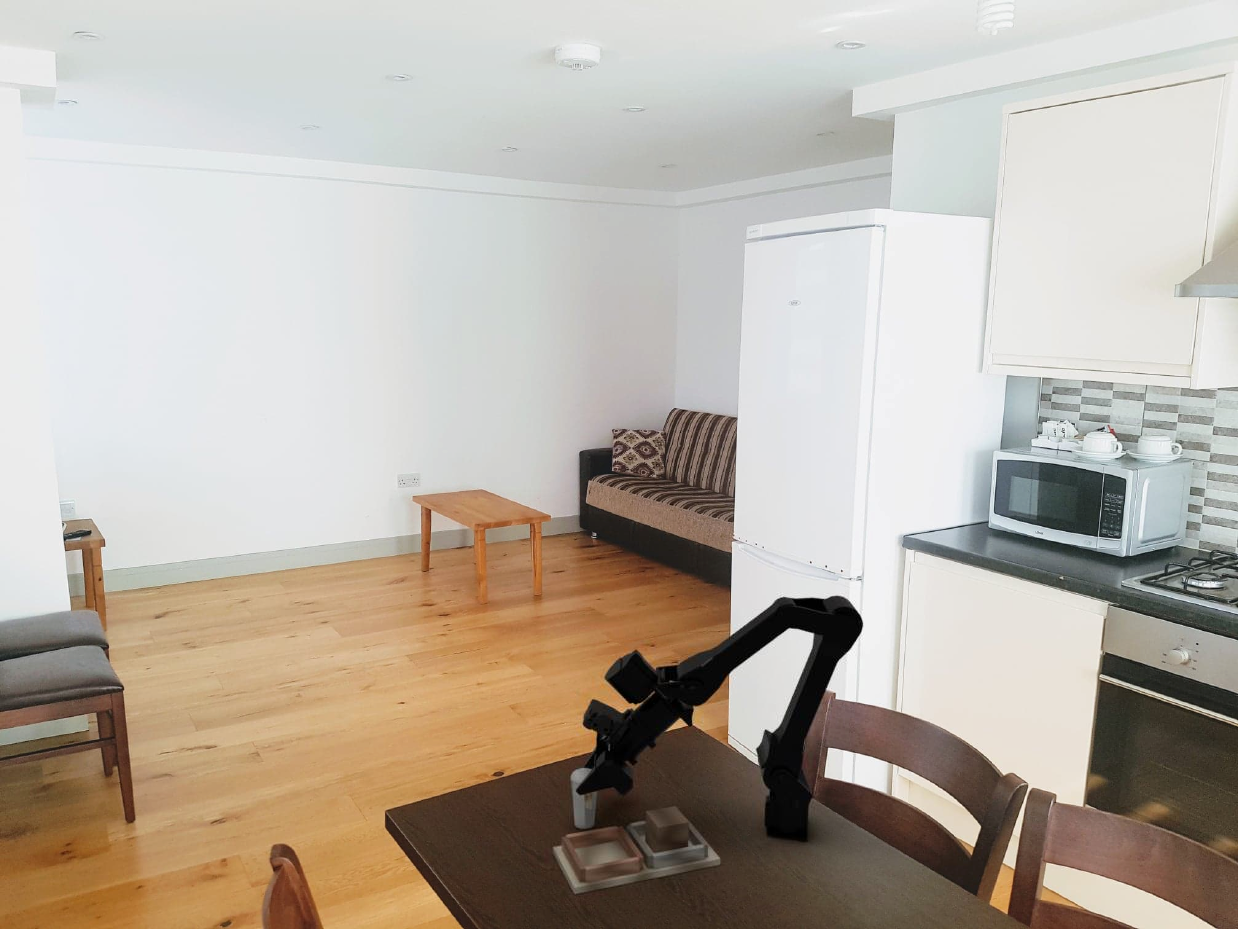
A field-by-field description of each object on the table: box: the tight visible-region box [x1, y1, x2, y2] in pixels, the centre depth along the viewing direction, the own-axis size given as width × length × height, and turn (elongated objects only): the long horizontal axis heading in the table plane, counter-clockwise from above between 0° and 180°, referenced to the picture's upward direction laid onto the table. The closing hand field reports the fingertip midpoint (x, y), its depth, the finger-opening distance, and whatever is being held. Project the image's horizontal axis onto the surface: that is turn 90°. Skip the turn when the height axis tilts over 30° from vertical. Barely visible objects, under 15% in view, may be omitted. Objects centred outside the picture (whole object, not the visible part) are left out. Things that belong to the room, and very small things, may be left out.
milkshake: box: [570, 767, 598, 830], centre depth 151 cm, size 4×5×10 cm
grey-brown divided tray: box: [552, 805, 721, 895], centre depth 141 cm, size 23×11×6 cm, turn 110°
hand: (578, 785), depth 150 cm, fingers closed on milkshake, 4 cm apart
